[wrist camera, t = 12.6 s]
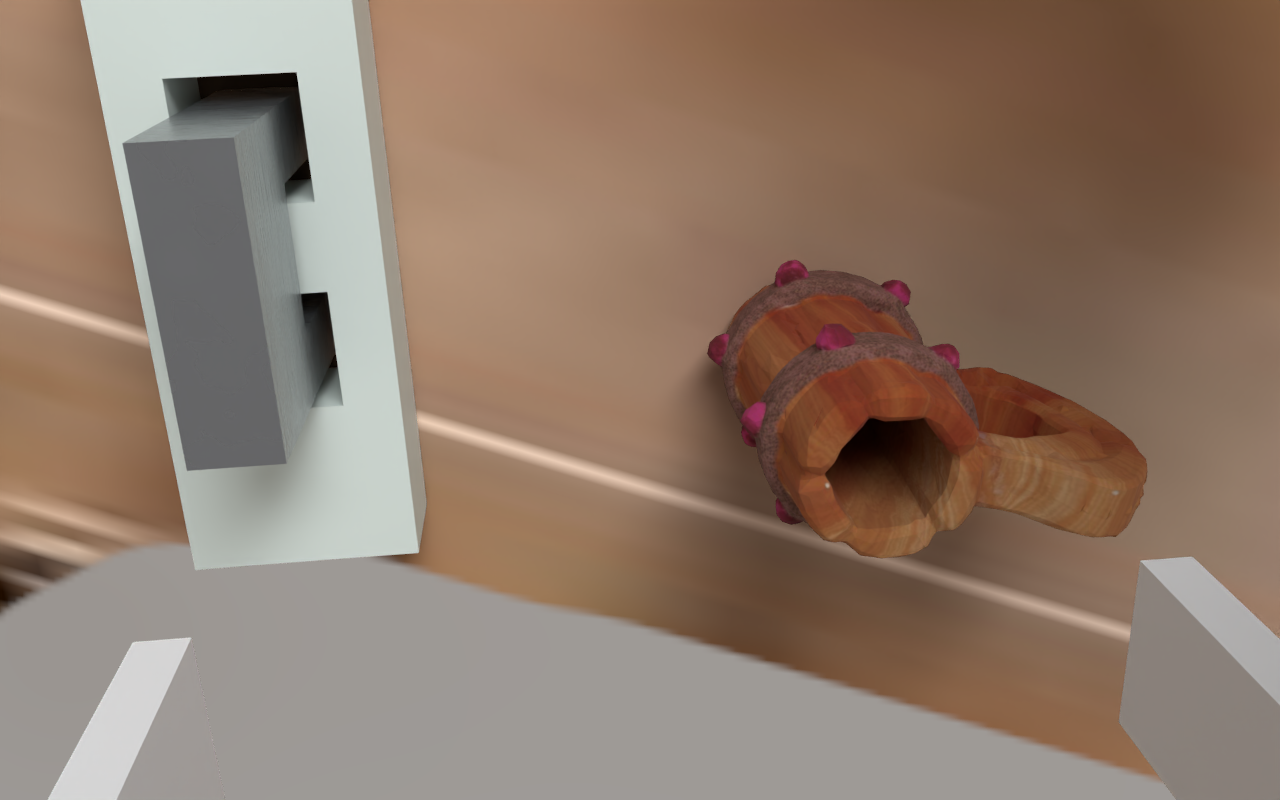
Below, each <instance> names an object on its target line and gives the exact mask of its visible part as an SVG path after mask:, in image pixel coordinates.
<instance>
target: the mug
mask: <svg viewBox="0 0 1280 800" xmlns="http://www.w3.org/2000/svg"><path fill="white" fill-rule="evenodd" d="M910 293H911V292H910V290H909V288H908V287H907V285H906V284H905V283H903V282H902V281H900V280H891V281H887V282H884V283H883V284H882V285H878V284H876V283H874V282H872V281H870V280H868V279H866V278H864V277H860V276H856V275H852V274H848V273H844V272H837V271H824V270H818V271H810V272H808V271H807V269H806V268H805V266H804V265H803V264H802V263H800V262H799V261H797V260H791V261H788V262H786V263H784V264H782V265H781V266H780V268H779V269H778V271H777V272H776V278H775V283H773V284H772V285H769V286H765V287H764V288H762V289H761V290H760V291H759V292H758V293H756V294H755V295H754V296H753V297H751V298H750V299H749V300H747V301H746V302H745V303H744V304H743V305H742V306H741V307H740V309H739V310H738V311H737V313H736V314H735V316H734V317H733V319H732V322H731V324H730V326H729V330H728V331H727V333H726V334H722V335H719V336H716V337H715V338H714V339H713V340H712V341H711V342H710V344H709V348H708V353H707V354H708V356H709V357H710V358H711V359H712V360H713V361H714V362H716V363H717V364H718V365H720V366H721V367H722V371H723V376H724V381H725V386H726V390H727V394H728V397H729V400H730V402H731V404H732V407H733V409H734V411H735V413H736V415H737V417H738V419H739V420H740V422H741V423H742V425H743V426H742V431H741V433H742V437H743V439H744V442H745V443H746V444H747V445H749V446H751V447H757V452H758V457H759V461H760V464H761V466H762V469H763V471H764V475H765V477H766V479H767V481H768V483H769V485H770V487H771V489H772V491H773V493H774V494H775V495H776V496H777V497H778V498H777V499H776V512H777V515H778V517H779V518H780V519H781V520H782V522H785V523H788V524H791V525H792V524H797V523H800V522H802V521H804V522H806V523H808V524H809V525H810V527H811V528H812V529H813V530H814V531H815V532H816V533H817V534H818V535H819V536H820V537H821V538H822V539H823V540H826V541H830V542H844V543H846V544H848V545H849V546H850V547H851V548H852V549H854V550H855V551H856V552H857V553H858V554H859V555H862V556H869V557H876V558H888V557H901V556H905V555H910V554H914V553H916V552H918V551H920V550H922V549H924V548H925V547H927V546H928V545H929V543H930V541H931V538H932V536H933V535H934V534H935V533H936V532H937V531H946V530H955V529H956V528H957V527H959V526H960V525H961V524H962V523H963V522H964V520H965V519H966V518H967V517H968V515H969V514H970V513H971V512H972V509H973V507H974V506H978V507H985V508H993V509H999V510H1004V511H1008V512H1012V513H1016V514H1019V515H1022V516H1024V517H1027V518H1030V519H1032V520H1035V521H1038V522H1040V523H1043V524H1046V525H1048V526H1051V527H1054V528H1056V529H1060V530H1064V531H1068V532H1072V533H1076V534H1080V535H1084V536H1089V537H1107V536H1113V537H1116V536H1117V535H1118V534H1119V533H1121V532H1122V531H1123V530H1124V529H1125V528H1126V527H1127V526H1128V524H1129V522H1130V521H1131V519H1132V516H1133V514H1134V512H1135V510H1136V509H1137V507H1138V506H1139V504H1140V498H1141V497H1142V496H1143V495H1144V493H1143V485H1144V484H1145V482H1146V478H1147V463H1146V459H1145V458H1144V456H1143V455H1142V454H1141V453H1140V452H1139V451H1138V449H1137V448H1136V446H1135V445H1134V443H1133V442H1132V441H1131V440H1130V439H1129V438H1128V437H1127V436H1126V435H1125V434H1123V433H1122V432H1121V431H1119V430H1118V429H1117V428H1115V427H1114V426H1113V425H1111V424H1110V423H1109V422H1107V421H1106V420H1104V419H1103V418H1101V417H1099V416H1097V415H1096V414H1094V413H1092V412H1091V411H1089V410H1087V409H1085V408H1084V407H1082V406H1080V405H1079V404H1077V403H1075V402H1073V401H1071V400H1069V399H1066V398H1064V397H1062V396H1060V395H1057V394H1055V393H1053V392H1051V391H1048V390H1046V389H1044V388H1042V387H1039V386H1037V385H1034V384H1032V383H1029V382H1027V381H1024V380H1021V379H1019V378H1016V377H1014V376H1011V375H1008V374H1003V373H999V372H997V371H995V370H993V369H992V368H980V367H976V368H969V369H958V368H959V352H958V351H957V350H956V348H955V347H954V346H952V345H950V344H941V345H936V346H932V347H926V346H924V345H923V342H922V338H921V336H920V334H919V331H918V329H917V327H916V325H915V324H914V322H913V320H912V319H911V317H910V315H909V314H908V312H907V311H906V309H905V306H907V305H908V304H909V300H910Z"/></svg>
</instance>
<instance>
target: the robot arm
mask: <svg viewBox="0 0 1280 800" xmlns="http://www.w3.org/2000/svg"><path fill="white" fill-rule="evenodd" d="M1119 723H1120V725H1121V726H1122V727H1123V729H1124V730H1125V731H1126V733H1127V734H1128V735H1129V737H1130V738H1131V739H1132V741H1133V742H1134V743H1135V745H1136V746H1137V747H1138V749H1139V750H1140V752H1141V753H1142V754H1143V756H1144V757H1145V758H1146V760H1147V761H1148V762H1149V764H1150V765H1151V766H1152V768H1153V769H1154V770H1155V772H1156V773H1157V774H1158V776H1159V777H1160V778H1161V780H1162V781H1163V782H1164V784H1165V785H1166V786H1167V788H1168V789H1169V790H1170V792H1171V793H1172V794H1173V796H1174V797H1175V799H1176V800H1280V639H1279V638H1278V637H1277V636H1276V635H1275V634H1274V633H1273V632H1272V631H1270V630H1269V629H1268V628H1267V627H1266V626H1265V625H1264V624H1263V623H1262V622H1261V621H1260V620H1259V619H1258V618H1257V617H1256V616H1255V615H1254V614H1253V613H1251V612H1250V611H1249V610H1248V609H1247V608H1246V607H1245V606H1244V605H1243V604H1242V603H1241V602H1240V601H1239V600H1238V599H1237V598H1236V597H1235V596H1234V595H1232V594H1231V593H1230V592H1229V591H1228V590H1227V589H1226V588H1225V587H1224V586H1223V585H1222V584H1221V583H1220V582H1219V581H1218V580H1217V579H1216V578H1215V577H1213V576H1212V575H1211V574H1210V573H1209V572H1208V571H1207V570H1206V569H1205V568H1204V567H1203V566H1202V565H1201V564H1200V563H1199V562H1198V561H1197V560H1196V559H1194V558H1193V557H1181V558H1168V559H1156V560H1143V561H1140V566H1139V574H1138V581H1137V589H1136V596H1135V604H1134V611H1133V619H1132V626H1131V634H1130V641H1129V649H1128V656H1127V664H1126V671H1125V679H1124V686H1123V693H1122V701H1121V708H1120V716H1119ZM48 800H225V796H224V792H223V787H222V782H221V777H220V772H219V768H218V763H217V758H216V753H215V749H214V743H213V738H212V734H211V729H210V724H209V719H208V714H207V709H206V705H205V700H204V695H203V691H202V685H201V680H200V676H199V671H198V666H197V661H196V656H195V651H194V647H193V642H192V638H191V637H190V638H178V639H166V640H154V641H141V642H133V643H132V645H131V647H130V649H129V650H128V652H127V654H126V656H125V658H124V660H123V661H122V663H121V665H120V667H119V669H118V671H117V672H116V674H115V676H114V678H113V680H112V682H111V684H110V686H109V687H108V689H107V691H106V693H105V695H104V696H103V698H102V700H101V702H100V704H99V706H98V708H97V709H96V711H95V713H94V715H93V717H92V719H91V720H90V723H89V724H88V726H87V728H86V730H85V732H84V733H83V735H82V737H81V739H80V741H79V743H78V745H77V746H76V748H75V750H74V752H73V754H72V756H71V758H70V759H69V761H68V763H67V765H66V767H65V769H64V770H63V772H62V774H61V776H60V778H59V780H58V781H57V784H56V785H55V787H54V789H53V791H52V793H51V795H50V796H49V798H48Z"/></svg>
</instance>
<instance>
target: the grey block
mask: <svg viewBox="0 0 1280 800" xmlns="http://www.w3.org/2000/svg"><path fill="white" fill-rule="evenodd" d="M122 144H123V149H124V154H125V159H126V164H127V169H128V174H129V180H130V185H131V190H132V195H133V200H134V205H135V210H136V215H137V220H138V225H139V230H140V235H141V240H142V246H143V251H144V256H145V261H146V266H147V271H148V276H149V281H150V286H151V291H152V296H153V301H154V306H155V312H156V317H157V322H158V327H159V332H160V337H161V342H162V347H163V352H164V357H165V362H166V367H167V372H168V378H169V383H170V388H171V393H172V398H173V403H174V408H175V413H176V418H177V423H178V428H179V433H180V438H181V444H182V449H183V454H184V459H185V464H186V469H187V471H192V470H206V469H220V468H235V467H249V466H263V465H277V464H287V462H288V460H289V457H290V455H291V453H292V450H293V448H294V446H295V444H296V441H297V439H298V437H299V434H300V432H301V430H302V428H303V425H304V423H305V421H306V418H307V416H308V414H309V412H310V409H311V407H312V405H313V402H314V400H315V398H316V396H317V393H318V391H319V389H320V386H321V384H322V382H323V379H324V377H325V375H326V373H327V370H328V368H329V366H330V363H331V361H332V359H333V357H334V354H335V352H336V350H335V342H334V335H333V328H332V321H331V314H330V307H329V300H328V293H327V292H318V293H302V294H301V293H300V287H299V280H298V273H297V266H296V260H295V253H294V246H293V240H292V233H291V226H290V219H289V213H288V206H287V199H286V193H285V186H284V184H285V183H286V182H287V180H288V179H289V178H290V177H291V176H292V175H293V174H294V173H295V172H296V171H297V169H298V168H299V167H300V166H301V165H302V164H303V163H304V162H305V161H306V160H307V158H308V150H307V143H306V136H305V129H304V121H303V114H302V107H301V100H300V93H299V86H292V87H272V88H252V89H232V90H218V91H216V92H214V93H212V94H211V95H209V96H207V97H205V98H203V99H202V100H200V101H198V102H196V103H194V104H193V105H191V106H189V107H187V108H185V109H183V110H182V111H180V112H178V113H176V114H174V115H173V116H171V117H169V118H167V119H165V120H164V121H162V122H160V123H158V124H156V125H154V126H153V127H151V128H149V129H147V130H145V131H144V132H142V133H140V134H138V135H136V136H135V137H133V138H131V139H129V140H127V141H125V142H124V143H122Z"/></svg>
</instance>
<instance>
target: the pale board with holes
mask: <svg viewBox="0 0 1280 800" xmlns="http://www.w3.org/2000/svg"><path fill="white" fill-rule="evenodd" d="M81 5H82V10H83V15H84V20H85V25H86V30H87V35H88V40H89V45H90V50H91V55H92V60H93V65H94V70H95V75H96V80H97V85H98V90H99V95H100V100H101V105H102V110H103V115H104V120H105V125H106V130H107V135H108V139H109V144H110V149H111V154H112V159H113V164H114V169H115V174H116V179H117V184H118V189H119V194H120V199H121V204H122V209H123V214H124V219H125V224H126V229H127V234H128V239H129V244H130V249H131V254H132V259H133V264H134V269H135V274H136V279H137V284H138V289H139V294H140V299H141V304H142V309H143V314H144V319H145V324H146V329H147V334H148V338H149V343H150V348H151V353H152V358H153V363H154V368H155V373H156V378H157V383H158V388H159V393H160V398H161V403H162V408H163V413H164V418H165V423H166V428H167V433H168V438H169V443H170V448H171V453H172V458H173V463H174V468H175V473H176V478H177V483H178V488H179V493H180V498H181V503H182V508H183V513H184V518H185V523H186V528H187V532H188V537H189V542H190V547H191V552H192V557H193V562H194V567H195V570H203V569H216V568H228V567H242V566H254V565H267V564H281V563H293V562H307V561H320V560H331V559H332V560H333V559H345V558H358V557H372V556H385V555H398V554H411V553H419V548H420V542H421V536H422V530H423V524H424V518H425V512H426V506H427V501H426V492H425V484H424V475H423V466H422V458H421V449H420V441H419V432H418V423H417V415H416V406H415V398H414V389H413V380H412V372H411V363H410V355H409V346H408V337H407V329H406V320H405V311H404V303H403V294H402V286H401V277H400V268H399V260H398V251H397V243H396V234H395V225H394V217H393V208H392V200H391V191H390V182H389V174H388V165H387V156H386V148H385V139H384V131H383V122H382V113H381V105H380V96H379V88H378V79H377V70H376V62H375V53H374V45H373V36H372V27H371V19H370V10H369V2H368V0H81ZM290 72H297V79H298V86H299V93H300V100H301V107H302V114H303V121H304V129H305V136H306V143H307V150H308V157H309V164H310V171H311V179H303V180H287V182H286V183H285V184H284V186H285V193H286V199H287V206H288V213H289V219H290V226H291V233H292V240H293V246H294V253H295V260H296V266H297V273H298V280H299V287H300V293H301V294H302V293H318V292H327V293H328V300H329V307H330V314H331V321H332V328H333V335H334V342H335V350H336V357H337V364H338V367H336V368H328V370H327V373H326V375H325V377H324V379H323V382H322V384H321V386H320V389H319V391H318V393H317V396H316V398H315V400H314V402H313V405H312V407H311V409H310V412H309V414H308V416H307V418H306V421H305V423H304V425H303V428H302V430H301V432H300V434H299V437H298V439H297V441H296V444H295V446H294V448H293V450H292V453H291V455H290V457H289V460H288V462H287V464H277V465H263V466H249V467H235V468H220V469H206V470H192V471H187V469H186V464H185V459H184V454H183V449H182V444H181V438H180V433H179V428H178V423H177V418H176V413H175V408H174V403H173V398H172V393H171V388H170V383H169V378H168V372H167V367H166V362H165V357H164V352H163V347H162V342H161V337H160V332H159V327H158V322H157V317H156V312H155V306H154V301H153V296H152V291H151V286H150V281H149V276H148V271H147V266H146V261H145V256H144V251H143V246H142V240H141V235H140V230H139V225H138V220H137V215H136V210H135V205H134V200H133V195H132V190H131V185H130V180H129V174H128V169H127V164H126V159H125V154H124V149H123V144H122V143H124V142H125V141H127V140H129V139H131V138H133V137H135V136H136V135H138V134H140V133H142V132H144V131H145V130H147V129H149V128H151V127H153V126H154V125H156V124H158V123H160V122H162V121H164V120H165V119H167V118H169V117H171V116H173V115H174V114H176V113H178V112H180V111H182V110H183V109H185V108H187V107H189V106H191V105H193V104H194V103H196V102H198V101H200V100H201V98H200V92H199V86H198V81H197V77H208V76H228V75H249V74H269V73H290Z"/></svg>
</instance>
